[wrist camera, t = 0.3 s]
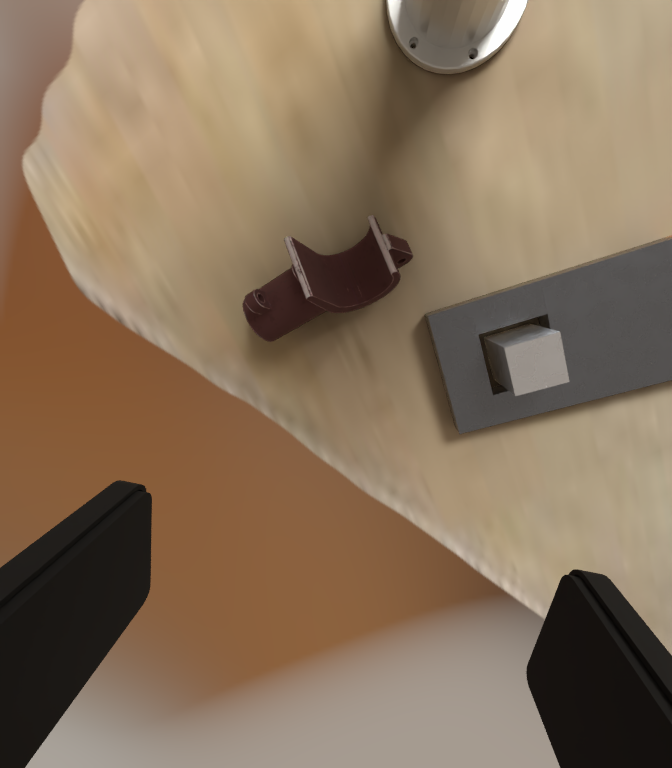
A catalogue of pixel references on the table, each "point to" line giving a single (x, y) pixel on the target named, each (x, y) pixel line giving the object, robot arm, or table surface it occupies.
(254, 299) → the bracket
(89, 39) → the table surface
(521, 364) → the grey rectangular block
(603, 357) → the grey copper flat plate
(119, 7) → the table surface
